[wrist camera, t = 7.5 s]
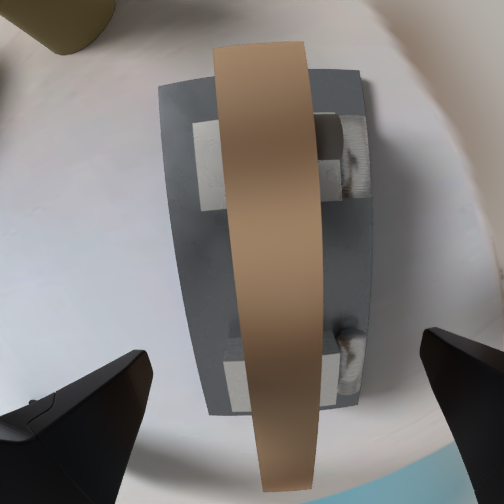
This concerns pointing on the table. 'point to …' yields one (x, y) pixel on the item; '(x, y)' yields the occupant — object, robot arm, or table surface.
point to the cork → (60, 21)
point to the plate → (219, 246)
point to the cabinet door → (277, 244)
